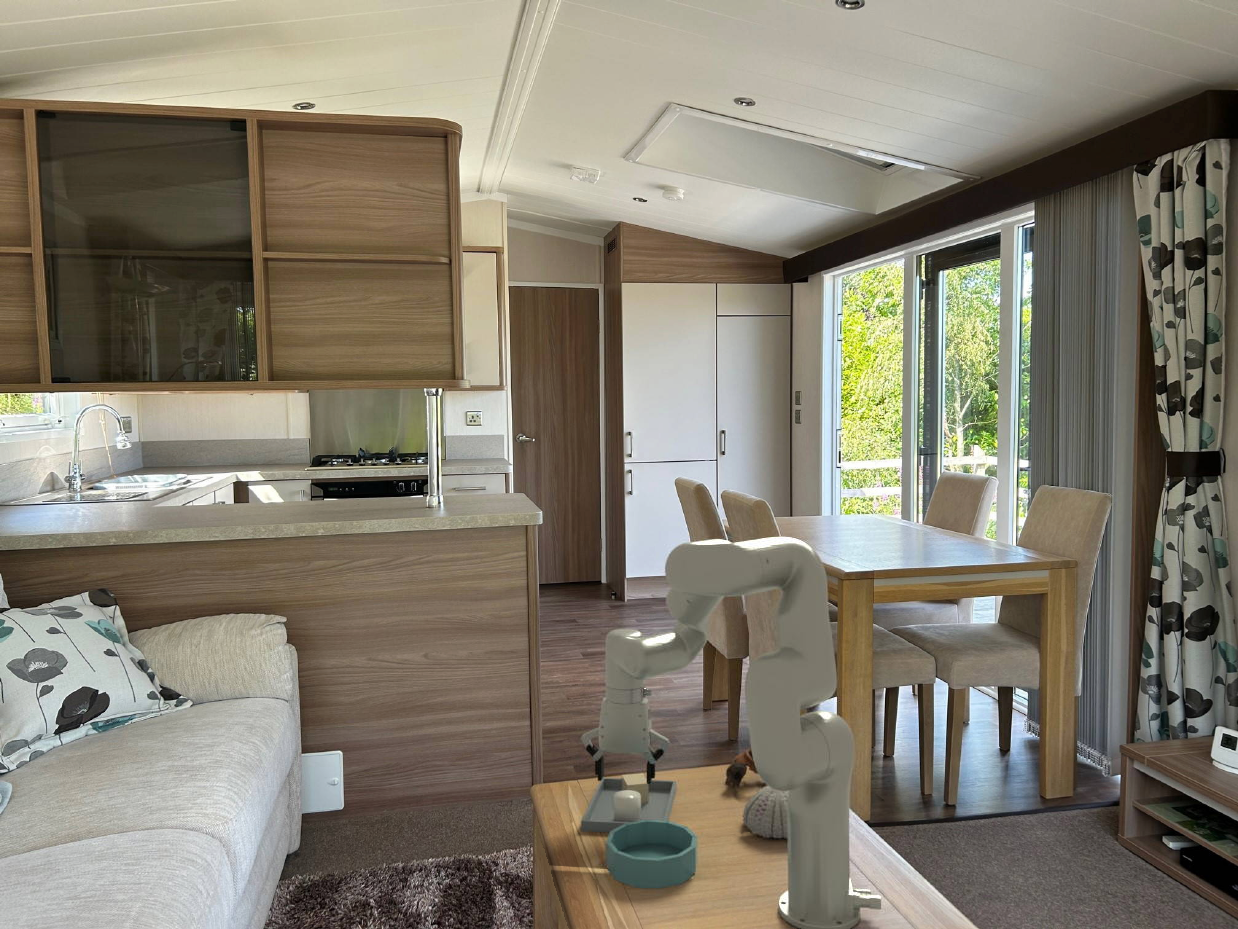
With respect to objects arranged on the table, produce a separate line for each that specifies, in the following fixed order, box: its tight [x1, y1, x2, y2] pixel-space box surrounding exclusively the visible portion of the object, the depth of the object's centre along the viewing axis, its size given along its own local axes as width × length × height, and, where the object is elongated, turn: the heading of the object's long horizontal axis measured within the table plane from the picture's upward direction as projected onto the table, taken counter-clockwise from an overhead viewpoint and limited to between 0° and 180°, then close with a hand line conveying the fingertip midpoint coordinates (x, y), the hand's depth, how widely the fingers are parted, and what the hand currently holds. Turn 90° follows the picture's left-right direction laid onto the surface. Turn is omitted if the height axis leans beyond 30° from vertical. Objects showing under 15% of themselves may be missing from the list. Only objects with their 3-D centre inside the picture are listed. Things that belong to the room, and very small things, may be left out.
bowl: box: [605, 820, 699, 890], centre depth 158 cm, size 16×16×5 cm
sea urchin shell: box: [742, 786, 789, 840], centre depth 173 cm, size 13×14×8 cm
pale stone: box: [614, 790, 641, 822], centre depth 176 cm, size 5×5×5 cm
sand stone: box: [621, 772, 649, 803], centre depth 187 cm, size 4×6×4 cm
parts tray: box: [580, 777, 678, 833], centre depth 181 cm, size 16×22×2 cm
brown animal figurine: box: [725, 748, 768, 788], centre depth 194 cm, size 12×10×8 cm
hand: (625, 780), depth 177 cm, fingers open, 9 cm apart
